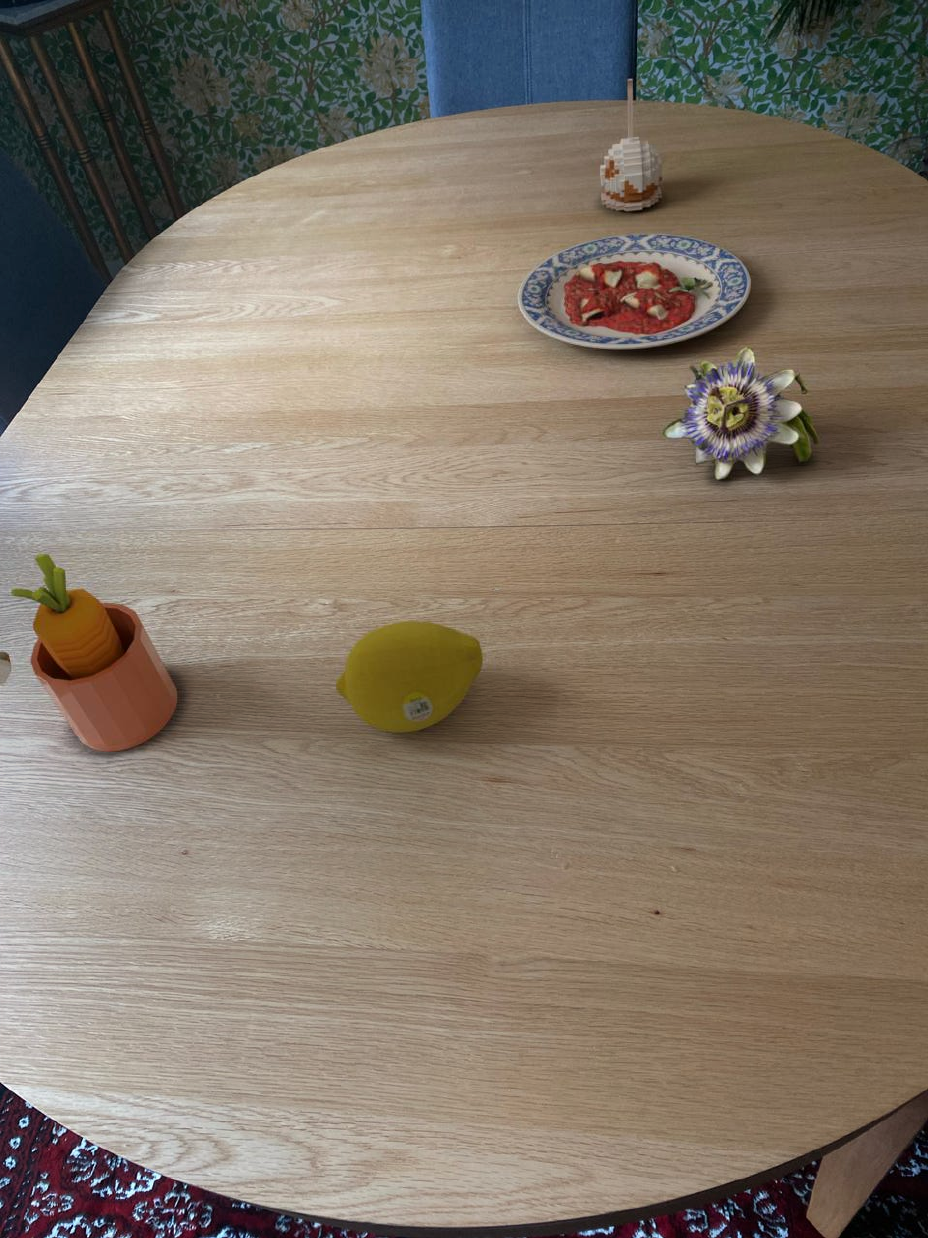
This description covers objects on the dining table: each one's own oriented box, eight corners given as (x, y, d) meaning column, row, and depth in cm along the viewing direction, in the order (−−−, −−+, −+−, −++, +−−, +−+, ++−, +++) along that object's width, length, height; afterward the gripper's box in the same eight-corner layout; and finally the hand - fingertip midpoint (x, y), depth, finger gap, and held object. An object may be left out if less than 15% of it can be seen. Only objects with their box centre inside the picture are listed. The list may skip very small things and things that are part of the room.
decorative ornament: (599, 192, 133) (596, 73, 123) (657, 186, 132) (659, 64, 122) (603, 217, 128) (599, 94, 117) (664, 211, 127) (665, 86, 116)
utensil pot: (69, 761, 75) (22, 694, 69) (82, 682, 81) (40, 614, 75) (174, 740, 75) (136, 672, 70) (180, 662, 81) (145, 593, 75)
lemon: (343, 758, 72) (318, 688, 66) (352, 677, 77) (329, 606, 72) (490, 746, 71) (477, 674, 65) (489, 665, 76) (476, 592, 71)
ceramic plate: (493, 359, 107) (490, 334, 105) (548, 249, 124) (547, 225, 122) (735, 371, 100) (737, 345, 98) (760, 252, 116) (762, 227, 114)
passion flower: (720, 521, 92) (644, 443, 86) (735, 436, 98) (664, 357, 92) (832, 484, 84) (757, 395, 78) (842, 394, 90) (772, 304, 84)
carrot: (130, 736, 75) (46, 597, 64) (77, 724, 77) (-14, 587, 66) (164, 687, 78) (88, 547, 67) (112, 677, 80) (31, 538, 69)
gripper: (-229, 645, 52) (36, 691, 61) (-210, 452, 66) (4, 513, 75) (-263, 731, 54) (-3, 763, 63) (-237, 527, 68) (-27, 577, 77)
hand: (1, 626), depth 69 cm, fingers open, 8 cm apart
